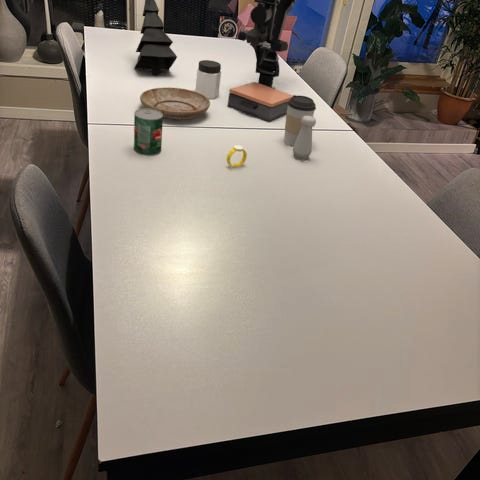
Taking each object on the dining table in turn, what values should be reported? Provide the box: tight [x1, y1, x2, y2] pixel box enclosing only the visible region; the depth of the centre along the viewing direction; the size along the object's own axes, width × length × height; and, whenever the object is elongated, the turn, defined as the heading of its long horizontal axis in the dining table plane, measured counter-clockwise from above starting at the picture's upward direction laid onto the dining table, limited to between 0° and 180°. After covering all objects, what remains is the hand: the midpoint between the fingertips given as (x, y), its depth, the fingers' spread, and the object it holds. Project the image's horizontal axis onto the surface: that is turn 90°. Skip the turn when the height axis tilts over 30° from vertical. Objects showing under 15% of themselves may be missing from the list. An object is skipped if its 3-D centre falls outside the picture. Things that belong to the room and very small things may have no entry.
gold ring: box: [226, 144, 248, 168], centre depth 143 cm, size 6×3×6 cm, turn 123°
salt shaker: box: [292, 116, 317, 161], centre depth 152 cm, size 6×6×13 cm
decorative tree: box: [133, 0, 178, 76], centre depth 201 cm, size 15×15×35 cm
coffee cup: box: [283, 94, 317, 148], centre depth 160 cm, size 9×9×15 cm
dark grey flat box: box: [227, 92, 289, 123], centre depth 184 cm, size 18×18×5 cm
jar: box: [194, 59, 222, 100], centre depth 187 cm, size 9×8×12 cm
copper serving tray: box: [228, 81, 293, 107], centre depth 182 cm, size 16×18×1 cm
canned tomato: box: [133, 107, 164, 157], centre depth 143 cm, size 8×8×11 cm
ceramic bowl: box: [139, 86, 211, 120], centre depth 171 cm, size 23×24×5 cm
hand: (259, 64), depth 187 cm, fingers closed
